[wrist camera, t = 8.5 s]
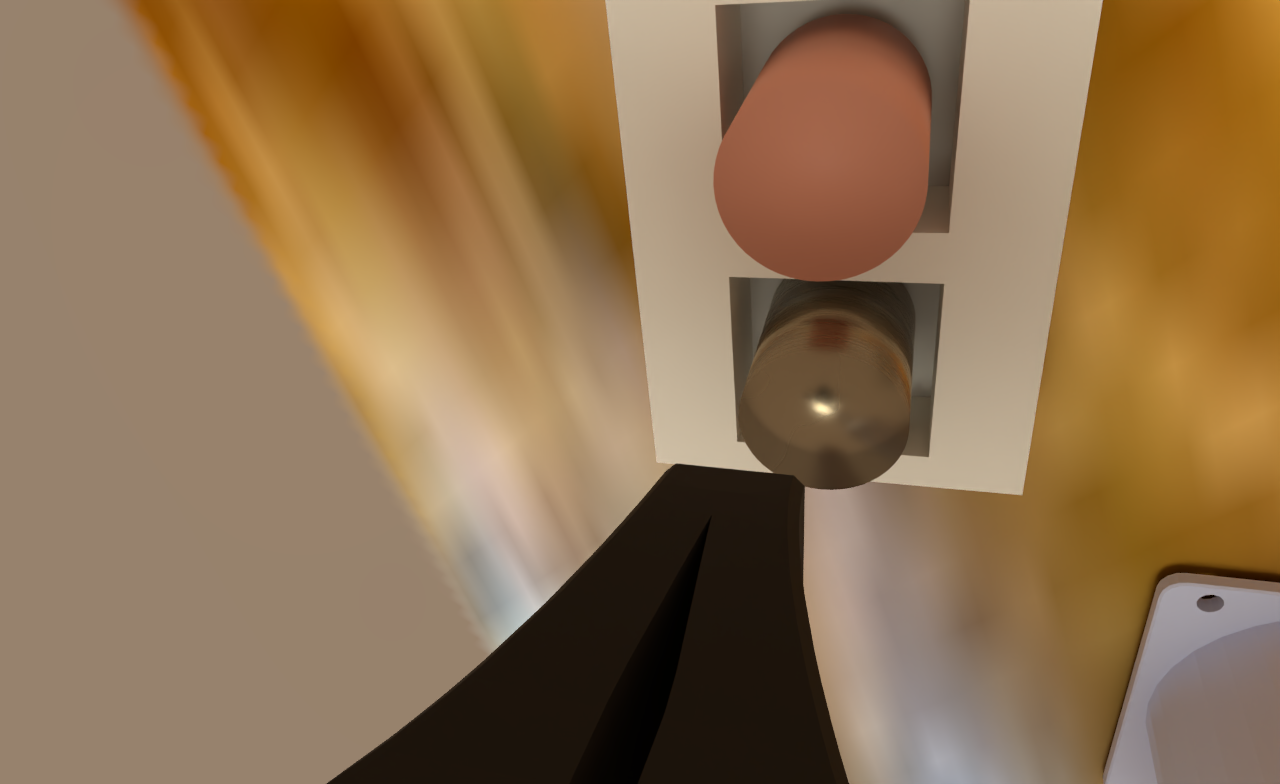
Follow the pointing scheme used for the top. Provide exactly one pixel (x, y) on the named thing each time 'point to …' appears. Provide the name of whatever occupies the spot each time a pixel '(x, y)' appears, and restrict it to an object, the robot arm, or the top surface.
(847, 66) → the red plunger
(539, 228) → the top surface
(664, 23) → the white slotted tray
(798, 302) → the bronze plunger
